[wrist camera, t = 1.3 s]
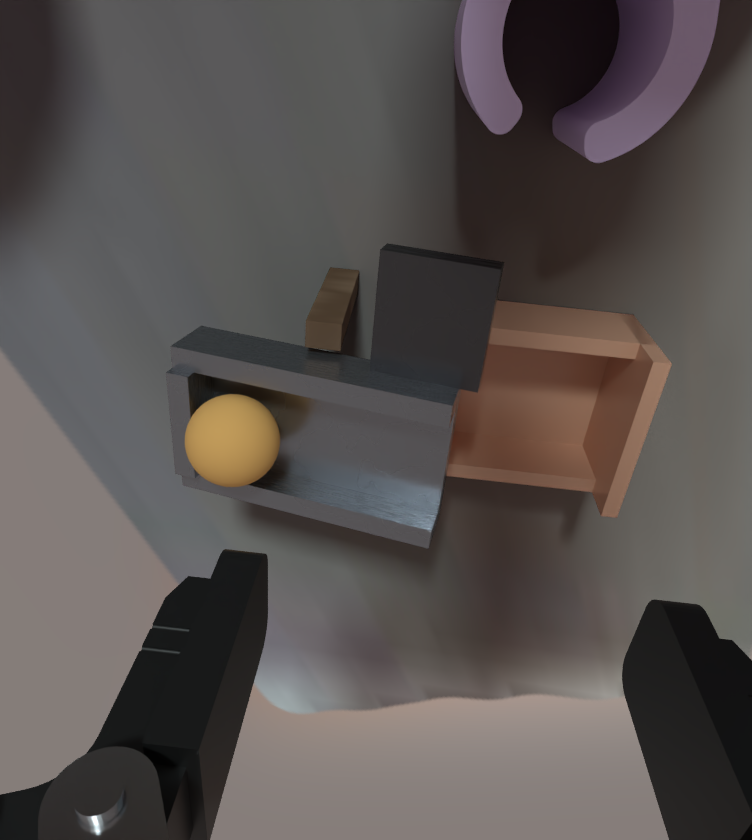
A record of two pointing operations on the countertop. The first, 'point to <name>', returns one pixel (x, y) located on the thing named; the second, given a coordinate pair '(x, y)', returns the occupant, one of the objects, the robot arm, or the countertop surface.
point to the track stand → (332, 310)
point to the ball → (232, 440)
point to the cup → (560, 402)
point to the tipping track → (355, 399)
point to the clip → (619, 87)
